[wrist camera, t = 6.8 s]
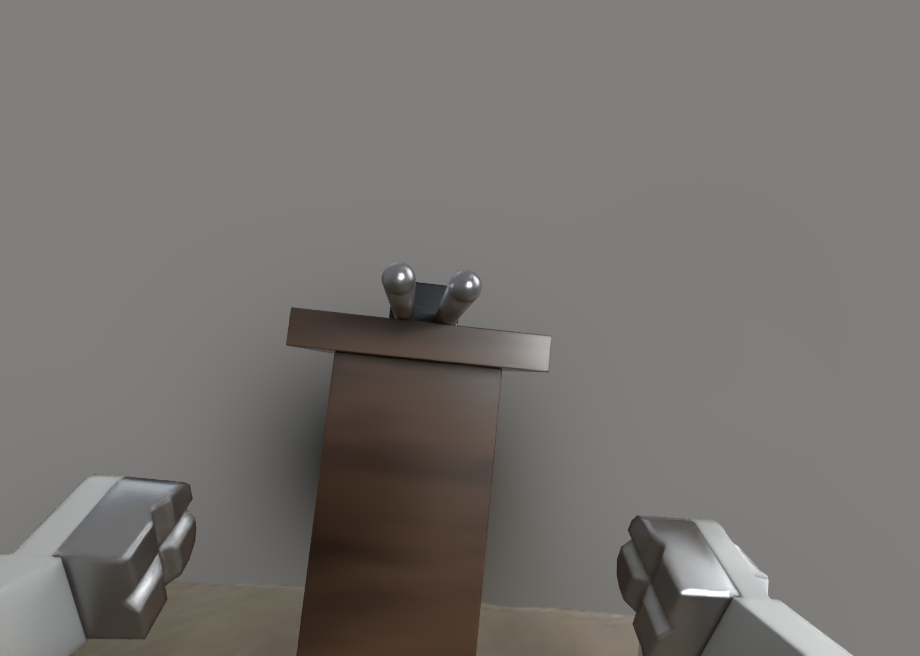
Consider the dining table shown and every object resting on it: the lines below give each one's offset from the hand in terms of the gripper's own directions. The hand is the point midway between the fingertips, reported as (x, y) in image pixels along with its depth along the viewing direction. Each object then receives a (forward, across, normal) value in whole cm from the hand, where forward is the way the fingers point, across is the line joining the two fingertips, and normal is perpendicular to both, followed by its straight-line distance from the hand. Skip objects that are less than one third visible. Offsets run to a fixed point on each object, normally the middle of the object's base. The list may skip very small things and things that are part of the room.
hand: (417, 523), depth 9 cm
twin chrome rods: (+17, 0, +3) cm, 17 cm away
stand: (+9, 0, +29) cm, 30 cm away
